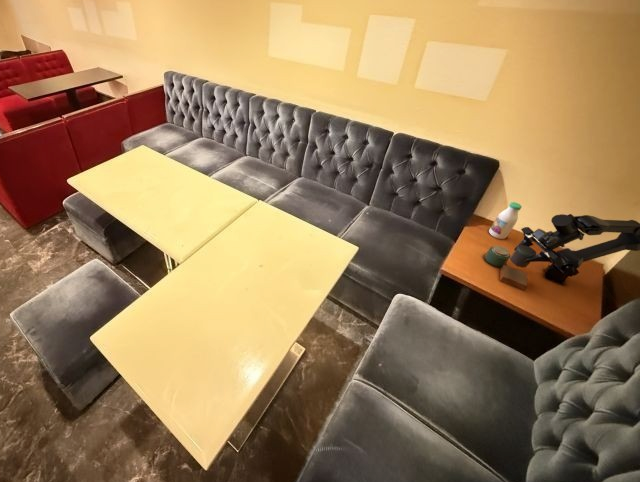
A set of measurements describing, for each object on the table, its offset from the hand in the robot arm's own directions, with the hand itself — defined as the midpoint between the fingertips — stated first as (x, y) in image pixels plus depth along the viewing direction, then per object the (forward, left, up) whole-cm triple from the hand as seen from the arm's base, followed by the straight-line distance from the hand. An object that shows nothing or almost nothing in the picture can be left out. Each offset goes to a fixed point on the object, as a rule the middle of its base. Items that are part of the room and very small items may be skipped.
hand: (519, 255), depth 135 cm
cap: (-1, -1, -4) cm, 4 cm away
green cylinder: (+4, -8, -14) cm, 16 cm away
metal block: (-3, 0, -13) cm, 14 cm away
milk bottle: (+4, -32, -14) cm, 35 cm away
